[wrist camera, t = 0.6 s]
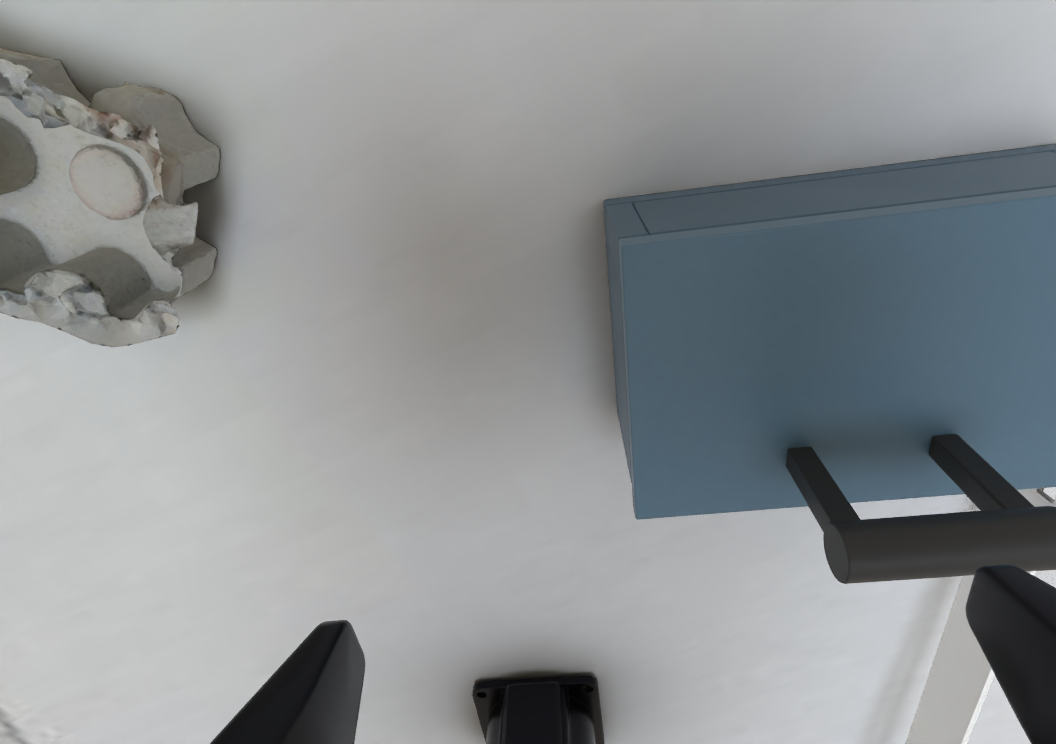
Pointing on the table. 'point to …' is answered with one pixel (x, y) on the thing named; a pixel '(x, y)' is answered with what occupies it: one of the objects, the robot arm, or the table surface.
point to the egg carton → (97, 204)
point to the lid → (853, 377)
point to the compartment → (809, 209)
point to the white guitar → (958, 671)
